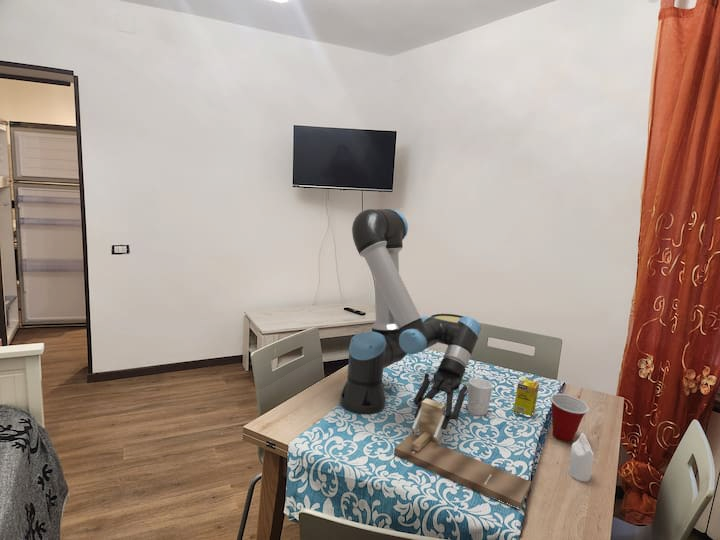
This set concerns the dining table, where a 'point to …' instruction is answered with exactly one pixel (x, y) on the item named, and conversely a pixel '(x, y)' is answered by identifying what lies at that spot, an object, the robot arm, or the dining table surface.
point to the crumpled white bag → (581, 459)
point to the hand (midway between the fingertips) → (425, 434)
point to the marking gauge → (428, 422)
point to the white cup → (479, 396)
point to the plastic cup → (566, 416)
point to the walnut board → (466, 471)
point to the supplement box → (526, 396)
